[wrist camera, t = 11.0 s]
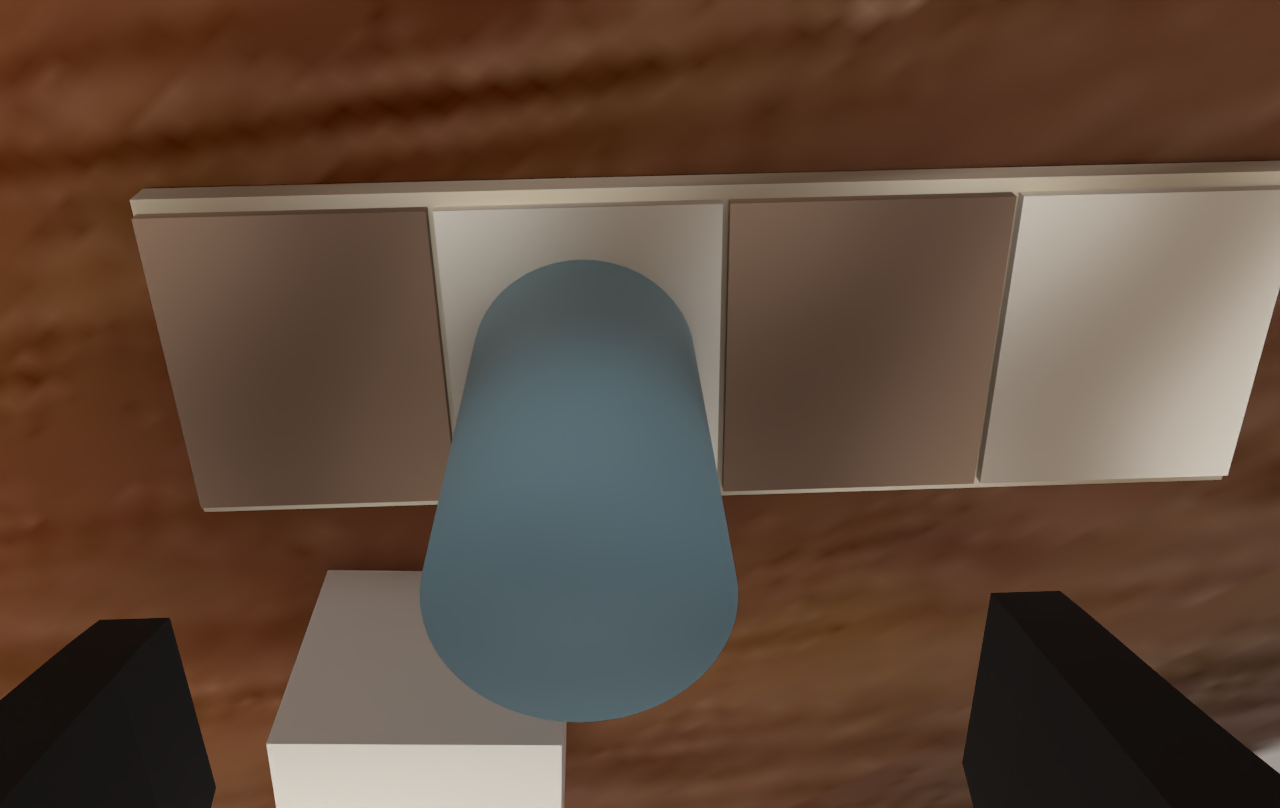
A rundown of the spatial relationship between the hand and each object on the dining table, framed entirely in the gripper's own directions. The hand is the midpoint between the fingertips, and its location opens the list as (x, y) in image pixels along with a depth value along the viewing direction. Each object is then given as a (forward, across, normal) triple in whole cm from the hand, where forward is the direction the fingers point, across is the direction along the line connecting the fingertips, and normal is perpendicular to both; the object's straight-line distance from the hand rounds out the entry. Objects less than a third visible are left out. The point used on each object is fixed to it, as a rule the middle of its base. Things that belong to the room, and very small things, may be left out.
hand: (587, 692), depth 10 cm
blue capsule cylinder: (+7, 0, 0) cm, 7 cm away
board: (+8, -2, 0) cm, 8 cm away
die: (+8, +3, +6) cm, 10 cm away
